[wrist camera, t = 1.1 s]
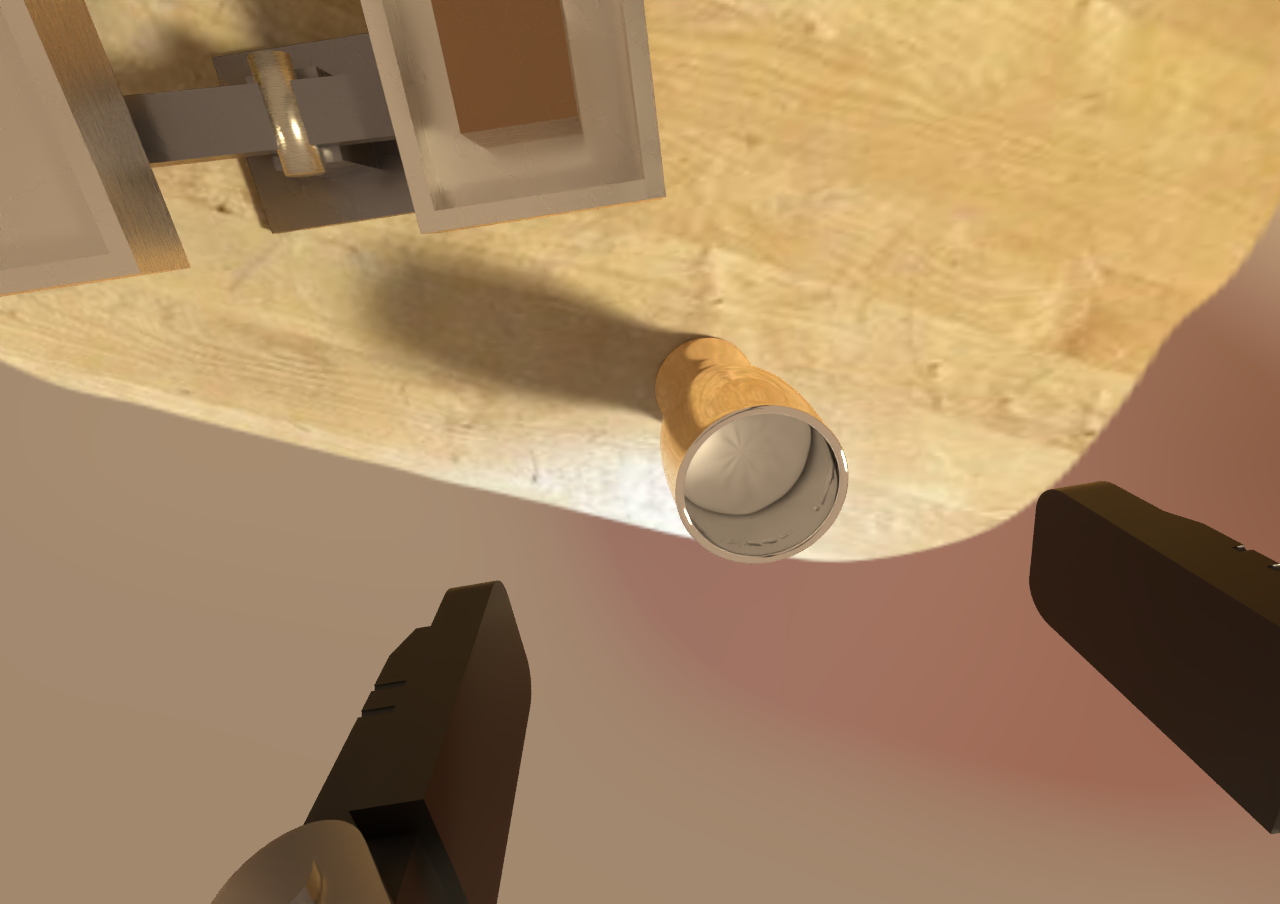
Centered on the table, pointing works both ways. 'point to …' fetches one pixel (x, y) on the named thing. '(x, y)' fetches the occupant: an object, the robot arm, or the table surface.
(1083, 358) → the table surface
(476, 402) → the table surface
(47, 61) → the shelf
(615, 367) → the table surface
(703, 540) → the beer glass
